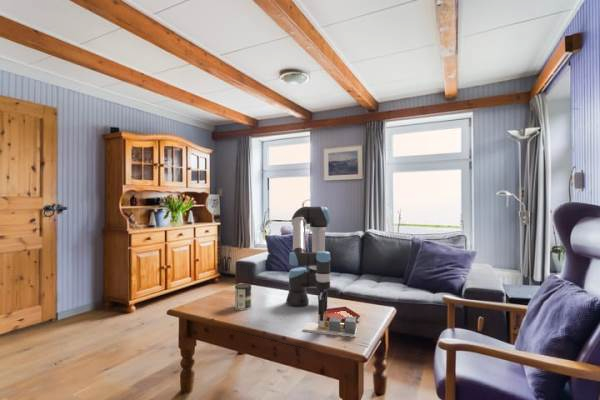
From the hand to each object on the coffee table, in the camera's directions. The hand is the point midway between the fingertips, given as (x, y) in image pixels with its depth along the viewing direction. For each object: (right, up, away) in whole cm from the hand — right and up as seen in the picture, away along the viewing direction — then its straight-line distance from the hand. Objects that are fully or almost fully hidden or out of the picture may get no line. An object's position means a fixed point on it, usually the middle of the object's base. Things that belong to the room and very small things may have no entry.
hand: (322, 324), depth 167 cm
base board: (+4, -3, -1) cm, 5 cm away
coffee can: (-49, -3, +34) cm, 59 cm away
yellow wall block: (+7, -1, -2) cm, 7 cm away
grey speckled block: (+6, -3, -2) cm, 7 cm away
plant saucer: (+11, -3, +18) cm, 21 cm away
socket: (+14, -3, -4) cm, 15 cm away
